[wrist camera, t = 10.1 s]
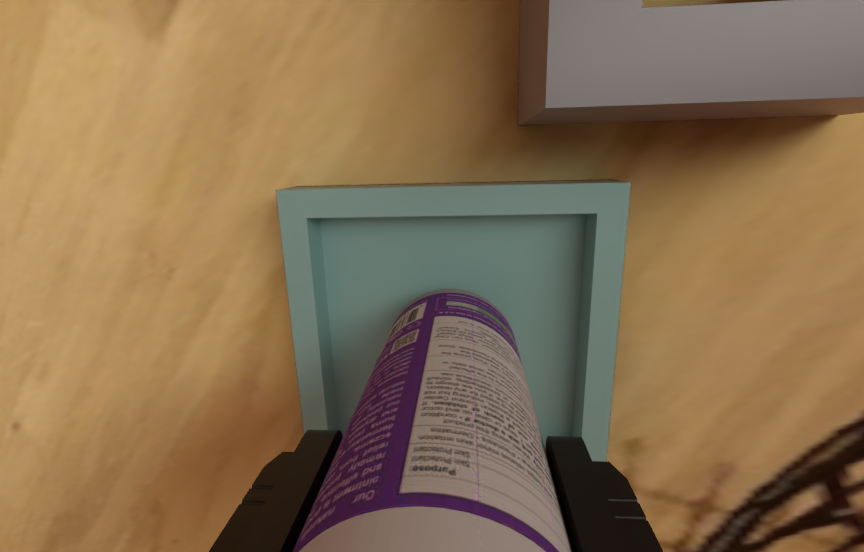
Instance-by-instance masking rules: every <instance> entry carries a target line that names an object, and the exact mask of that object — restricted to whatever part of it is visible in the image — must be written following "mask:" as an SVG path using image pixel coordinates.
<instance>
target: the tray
mask: <svg viewBox="0 0 864 552" xmlns="http://www.w3.org/2000/svg"><path fill="white" fill-rule="evenodd" d="M630 188H631V182H626V181H620V180H613V179H601V180H557V181H512V182H467V183H423V184H378V185H333V186H296V187H290V188H284V189H279V190H276V196H277V205H278V214H279V222H280V231H281V240H282V248H283V257H284V266H285V274H286V283H287V292H288V300H289V309H290V318H291V326H292V335H293V344H294V352H295V361H296V369H297V378H298V387H299V395H300V404H301V413H302V421H303V430H304V434H305V433H306V431H307V430H340V431H341V433H342V436H344V434H345V432H346V430H347V427H348V425H349V423H350V421H351V418H352V416H353V414H354V411H355V409H356V407H357V405H358V402H359V400H360V398H361V396H362V393H363V391H364V389H365V387H366V384H367V382H368V380H369V377H370V375H371V373H372V371H373V368H374V366H375V364H376V362H377V359H378V357H379V355H380V353H381V350H382V348H383V346H384V344H385V341H386V339H387V337H388V334H389V332H390V330H391V328H392V326H393V324H394V322H395V320H396V318H397V317H398V315H399V314H400V312H401V311H402V310H403V309H404V308H405V307H406V306H407V305H408V304H409V303H410V302H412V301H413V300H415V299H416V298H418V297H420V296H421V295H424V294H426V293H428V292H432V291H436V290H441V289H460V290H466V291H470V292H473V293H476V294H478V295H480V296H482V297H484V298H486V299H487V300H489V301H490V302H492V303H493V304H494V305H495V306H496V307H497V308H499V309H500V311H501V312H502V313H503V314H504V316H505V317H506V318H507V320H508V322H509V324H510V326H511V328H512V331H513V334H514V337H515V340H516V344H517V347H518V351H519V355H520V359H521V362H522V366H523V370H524V373H525V377H526V381H527V385H528V388H529V392H530V396H531V399H532V403H533V407H534V411H535V414H536V418H537V422H538V425H539V429H540V433H541V437H542V440H543V444H544V448H546V439H547V436H570V437H582V438H583V440H584V443H585V445H586V447H587V450H588V452H589V455H590V457H591V460H592V461H602V462H606V460H607V448H608V437H609V426H610V414H611V403H612V392H613V380H614V369H615V358H616V346H617V335H618V324H619V312H620V301H621V290H622V278H623V267H624V256H625V244H626V233H627V222H628V210H629V199H630Z"/></svg>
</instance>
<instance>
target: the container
mask: <svg viewBox="0 0 864 552" xmlns="http://www.w3.org/2000/svg"><path fill="white" fill-rule="evenodd" d="M293 552H572V548H571V544H570V541H569V537H568V533H567V530H566V526H565V522H564V518H563V515H562V511H561V507H560V504H559V500H558V496H557V492H556V489H555V485H554V481H553V478H552V474H551V470H550V466H549V463H548V459H547V455H546V451H545V448H544V444H543V440H542V437H541V433H540V429H539V425H538V422H537V418H536V414H535V411H534V407H533V403H532V399H531V396H530V392H529V388H528V385H527V381H526V377H525V373H524V370H523V366H522V362H521V359H520V355H519V351H518V347H517V344H516V340H515V337H514V334H513V331H512V328H511V326H510V324H509V322H508V320H507V318H506V317H505V316H504V314H503V313H502V312H501V311H500V309H499V308H497V307H496V306H495V305H494V304H493V303H492V302H490V301H489V300H487V299H486V298H484V297H482V296H480V295H478V294H476V293H473V292H470V291H466V290H460V289H441V290H436V291H432V292H428V293H426V294H424V295H421V296H420V297H418V298H416V299H415V300H413V301H412V302H410V303H409V304H408V305H407V306H406V307H405V308H404V309H403V310H402V311H401V312H400V314H399V315H398V317H397V318H396V320H395V322H394V324H393V326H392V328H391V330H390V332H389V334H388V337H387V339H386V341H385V344H384V346H383V348H382V350H381V353H380V355H379V357H378V359H377V362H376V364H375V366H374V368H373V371H372V373H371V375H370V377H369V380H368V382H367V384H366V387H365V389H364V391H363V393H362V396H361V398H360V400H359V402H358V405H357V407H356V409H355V411H354V414H353V416H352V418H351V421H350V423H349V425H348V427H347V430H346V432H345V434H344V436H343V439H342V441H341V443H340V445H339V448H338V450H337V452H336V455H335V457H334V459H333V461H332V464H331V466H330V468H329V470H328V473H327V475H326V477H325V479H324V482H323V484H322V486H321V488H320V491H319V493H318V495H317V498H316V500H315V502H314V504H313V507H312V509H311V511H310V513H309V516H308V518H307V520H306V522H305V525H304V527H303V529H302V532H301V534H300V536H299V538H298V541H297V543H296V545H295V547H294V550H293Z"/></svg>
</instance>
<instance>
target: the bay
mask: <svg viewBox="0 0 864 552" xmlns="http://www.w3.org/2000/svg"><path fill="white" fill-rule="evenodd" d="M863 112H864V0H785V1H766V2H747V3H728V4H709V5H690V6H671V7H651V8H642V0H520V34H519V78H518V122H517V126H518V125H549V124H580V123H610V122H641V121H672V120H703V119H734V118H765V117H796V116H826V115H845V114H854V113H863Z"/></svg>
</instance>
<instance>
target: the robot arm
mask: <svg viewBox="0 0 864 552" xmlns="http://www.w3.org/2000/svg"><path fill="white" fill-rule="evenodd" d="M342 439H343V436H342V433H341V431H340V430H307V431H306V433H305V434H304V436H303V438H302V439H301V441H300V443H299V445H298V446H297V448H296V450H295V451H294V452H282V453H281V454H279V455H278V456H277V457H276V458H275V459H273V460H272V461H271V462H270V463H268V464H267V465H266V466H265V467H264V468H263V469H262V471H261V472H260V474H259V475H258V477H257V478H256V480H255V482H254V483H253V485H252V489H249V491H248V492H247V494H246V495H245V497H244V498H243V500H242V504H240V505H239V506H238V508H237V509H236V511H235V512H234V514H233V515H232V517H231V518H230V520H229V521H228V523H227V524H226V526H225V528H224V529H223V531H222V532H221V534H220V535H219V537H218V538H217V540H216V541H215V543H214V544H213V546H212V547H211V549H210V551H209V552H293V550H294V547H295V545H296V543H297V541H298V538H299V536H300V534H301V532H302V529H303V527H304V525H305V522H306V520H307V518H308V516H309V513H310V511H311V509H312V507H313V504H314V502H315V500H316V498H317V495H318V493H319V491H320V488H321V486H322V484H323V482H324V479H325V477H326V475H327V473H328V470H329V468H330V466H331V464H332V461H333V459H334V457H335V455H336V452H337V450H338V448H339V445H340V443H341V441H342ZM545 451H546V455H547V459H548V463H549V466H550V470H551V474H552V478H553V481H554V485H555V489H556V492H557V496H558V500H559V504H560V507H561V511H562V515H563V518H564V522H565V526H566V530H567V533H568V537H569V541H570V544H571V548H572V552H663V550H662V548H661V546H660V544H659V542H658V540H657V538H656V536H655V534H654V532H653V530H652V528H651V526H650V524H649V522H648V521H646V516H645V514H644V512H643V510H642V508H641V506H640V504H639V503H637V498H636V496H635V494H634V492H633V490H632V488H631V486H630V484H629V482H628V480H627V478H626V477H624V476H623V475H622V474H621V473H620V472H619V471H618V470H617V469H616V468H615V467H614V466H613V465H612V464H611V463H610V462H602V461H592V460H591V457H590V455H589V452H588V450H587V447H586V445H585V443H584V440H583V438H582V437H570V436H547V439H546V448H545Z"/></svg>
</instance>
